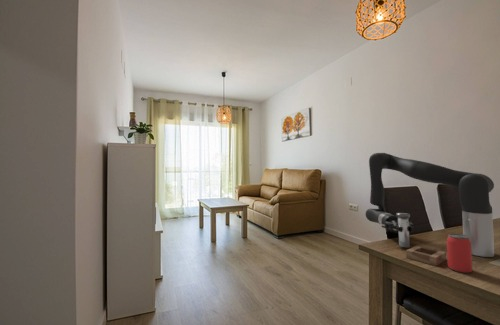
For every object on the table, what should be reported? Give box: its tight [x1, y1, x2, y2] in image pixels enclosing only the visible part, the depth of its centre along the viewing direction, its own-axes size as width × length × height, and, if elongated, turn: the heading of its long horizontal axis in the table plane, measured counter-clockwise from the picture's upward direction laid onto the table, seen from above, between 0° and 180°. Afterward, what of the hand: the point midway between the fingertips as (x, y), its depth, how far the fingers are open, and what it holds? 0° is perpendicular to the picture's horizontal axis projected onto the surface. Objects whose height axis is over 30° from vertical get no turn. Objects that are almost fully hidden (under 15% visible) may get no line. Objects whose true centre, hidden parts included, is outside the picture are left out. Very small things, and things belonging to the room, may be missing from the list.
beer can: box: [446, 233, 473, 274], centre depth 85 cm, size 7×7×12 cm
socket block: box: [405, 245, 447, 267], centre depth 95 cm, size 10×10×3 cm
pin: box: [395, 212, 411, 248], centre depth 108 cm, size 5×5×14 cm
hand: (406, 229), depth 105 cm, fingers closed on pin, 4 cm apart
